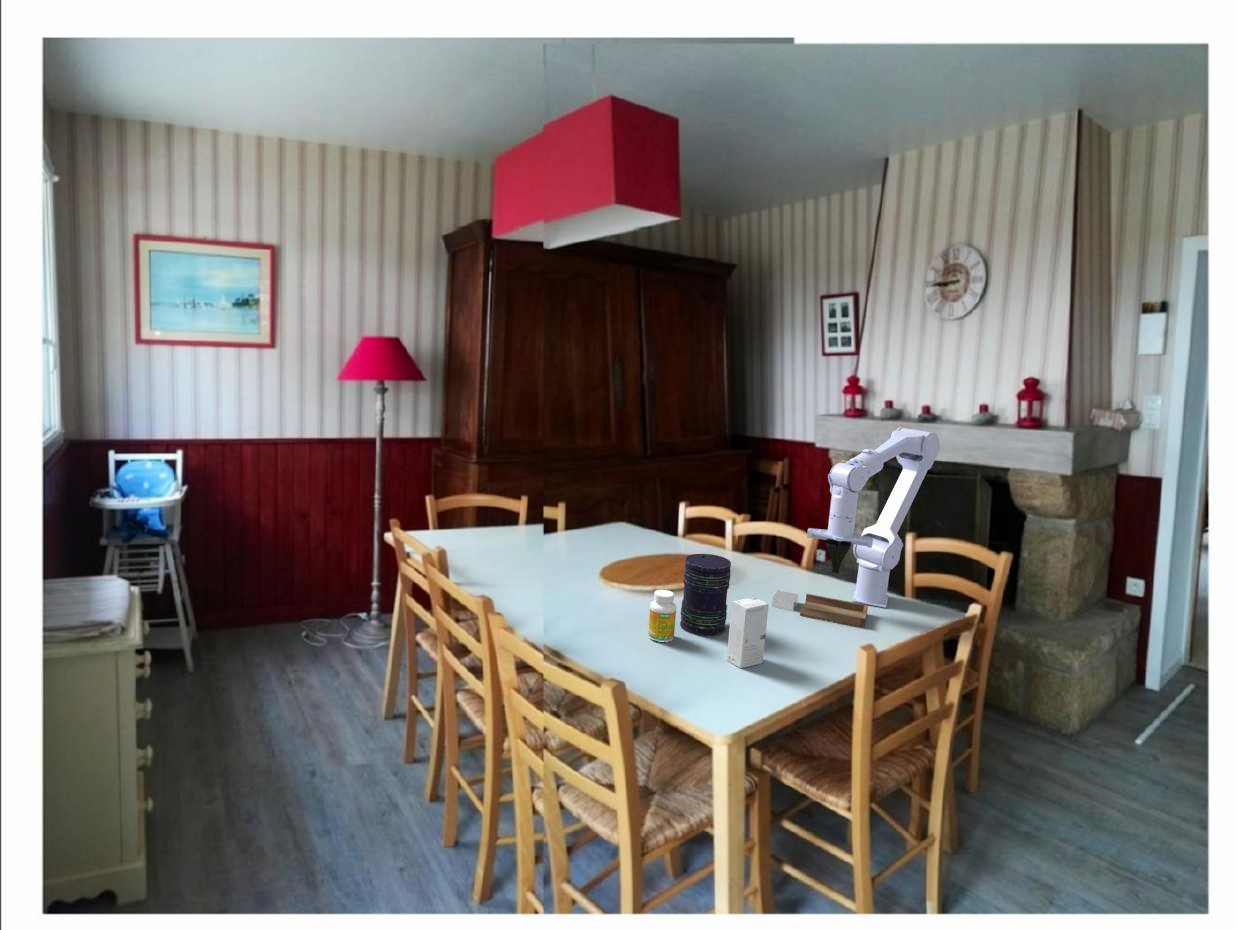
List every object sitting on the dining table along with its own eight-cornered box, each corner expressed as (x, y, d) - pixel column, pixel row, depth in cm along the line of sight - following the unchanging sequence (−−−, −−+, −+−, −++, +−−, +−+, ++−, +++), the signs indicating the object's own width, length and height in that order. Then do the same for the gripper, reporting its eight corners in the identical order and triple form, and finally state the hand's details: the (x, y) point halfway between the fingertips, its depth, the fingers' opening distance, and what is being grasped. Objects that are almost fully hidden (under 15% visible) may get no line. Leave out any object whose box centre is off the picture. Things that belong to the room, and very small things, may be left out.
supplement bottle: (656, 645, 145) (659, 599, 143) (643, 634, 150) (646, 590, 148) (678, 641, 148) (682, 596, 146) (665, 631, 152) (668, 587, 151)
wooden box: (805, 602, 174) (806, 593, 174) (867, 614, 169) (868, 605, 169) (799, 615, 166) (800, 606, 165) (863, 628, 160) (865, 619, 160)
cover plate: (776, 599, 176) (777, 590, 175) (797, 604, 174) (798, 594, 173) (771, 607, 170) (772, 597, 170) (792, 612, 168) (793, 602, 168)
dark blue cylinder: (732, 635, 152) (738, 568, 149) (688, 637, 150) (693, 568, 147) (715, 617, 161) (721, 553, 159) (673, 618, 159) (678, 553, 156)
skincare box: (740, 669, 137) (746, 609, 134) (725, 660, 140) (730, 601, 138) (764, 663, 140) (770, 604, 138) (748, 653, 144) (754, 596, 142)
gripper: (807, 514, 165) (801, 570, 168) (874, 524, 160) (866, 582, 162) (812, 508, 172) (806, 562, 174) (876, 517, 166) (869, 573, 169)
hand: (835, 571), depth 169 cm, fingers closed
